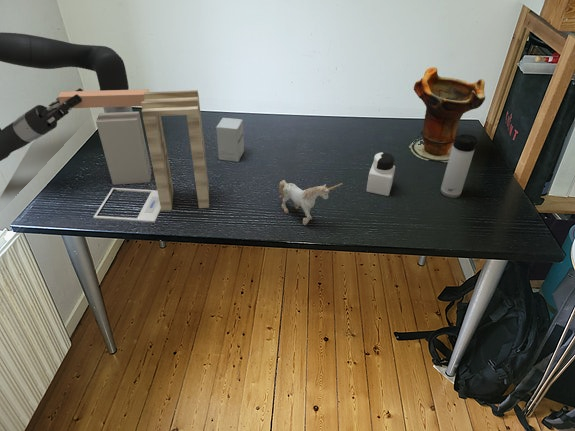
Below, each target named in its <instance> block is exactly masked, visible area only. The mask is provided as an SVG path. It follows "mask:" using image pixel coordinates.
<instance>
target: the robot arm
mask: <svg viewBox="0 0 575 431" xmlns="http://www.w3.org/2000/svg"><path fill="white" fill-rule="evenodd" d="M0 62H1V63H6V64H11V65H15V66H19V67H20V66H21V67H27V68H33V69H40V70H53V69H54V70H55V69H63V68H79V69H85V70H88V71H93V72H95V73H96V74H95V75H96V76H97V78H96V79H97V80H98V86H99V91H106V90H130V89H129V81H128V74H127V71H126V65H125V63H124V60H123V59H122V57H121V56H120V55H119V54H118V53H117V52H116V51H115V50H114V49H113V48H111V47H109V46H104V45H93V44H92V45H90V44H77V43H72V42H71V43H70V42H67V41H63V40H59V39H55V38H54V39H53V38H48V37H44V36H39V35H32V34H26V33H18V32H3V31H2V32H0ZM75 91H84V90H83V89H82V88H77V89H76V90H75ZM80 102H82V99H81V97H80V96H79V95H77V94H76V95H74V96H73V97H71V98H70V99H68V100H67V101H65V102H63V103H61V104H60V101H59V98H58V97H57V98H55V101H52V102H50V103H49V104H48V107H47V106H45V105H42V104H38V105H36V106H33V107H32V108H31V109H29V110H28V111H26V112H24V113H23V114H22V115H20V116H18V117H17V118H16V119H15V120H14V121H12V122H11V123H9V124H8V125H7V126H5V127H3V129H2V128H1V127H0V162H1V161H3V160H5V159H7V158H8V157H9V156H10V155H11V154H12V153H14V151H17V150H20V149H22V148H24V147H25V146H27V145H28V144H30V143H32V142H34V141H36V140H38V139H39V138H41V137H43V136H44V135H47V134H48V133H49V132H52V131H53V130H54V129H56V128H57V126H58V121H60V120H61V119H63V118H64V117H65V116H67V115H68V114H69V113H70V111H72V109H73V108H72V107H74V106H76V105H77V104H79V103H80ZM102 109H103V113H117V112H134V111H133V106H130V107H102Z"/></svg>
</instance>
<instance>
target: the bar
mask: <svg viewBox="0 0 575 431" xmlns="http://www.w3.org/2000/svg"><path fill="white" fill-rule="evenodd" d="M144 92H150V91H149V89H148V88H147V89H128V90H106V91H100V90H83V91H76V90H75V91H74V90H72V91H61V92H60V93H59V95H58V97H57V98H59V101H60V104H61V103H63V102H65V101H67V100H68V99H70V98H71V97H73V96H74V95H76V94H77V95H79V96H80V97H81V99H82V102H80V103H79V104H77V105H76V106H74V107H72V109H88V108H89V109H90V108H94V109H95V108H103V107H130V106H132V107H142V104H141V102H142V101H144V100H145V99H144Z"/></svg>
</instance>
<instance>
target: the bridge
mask: <svg viewBox="0 0 575 431" xmlns="http://www.w3.org/2000/svg"><path fill="white" fill-rule="evenodd" d="M199 95H200V94H199V92H198V89H196V90H170V91H169V90H168V91H149V92H144V99H145V100H144V101H142V102H141V104H142V106H141V107H142V108H141V116H142V119H143V126H144V129H145V134H146V139H147V140H146V141H147V145H148V150H149V154H150V155H149V156H150V160H151V161H150V162H151V164H152V170H153V175H154V180H155V185H156V190H157V191H158V196H159V201H160V206H161V210H160V212H161V211H162V212H163V211H164V212H165V211H172V209H173V199H174V192H175V190H174V186H173V185H174V184H173V181H172V180H173V179H172V174H171V166H170V161H169V158H168V150H167V144H166V138H165V134H164V128H163V123H162V117H171V116H186V120H187V121H186V122H187V128H188V136H189V144H190V151H191V159H192V165H193V174H194V180H195V188H196V196H197V204H198V209H208V208H209V209H210V188H209V187H210V186H209V185H210V184H209V177H208V176H209V175H208V168H207V158H206V157H207V156H206V151H205V140H204V133H203V132H204V131H203V123H202V122H203V121H202V114H201V105H200V96H199Z"/></svg>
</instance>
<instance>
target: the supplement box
mask: <svg viewBox="0 0 575 431" xmlns="http://www.w3.org/2000/svg"><path fill="white" fill-rule="evenodd" d="M243 121H244V120H243V119H240V118H233V117H232V118H231V117H229V118H228V117H222V118H221V120H220V121H219V122H218V124H217V125H216V128H215V129H216V140H217V152H218V153H217V154H218V160H222V161H227V162H228V161H229V162H235V163H236V162H240V159H241V157H242V155H243V154H244V152H245V147H244V146H245V145H244V143H245V142H244V122H243Z"/></svg>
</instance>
